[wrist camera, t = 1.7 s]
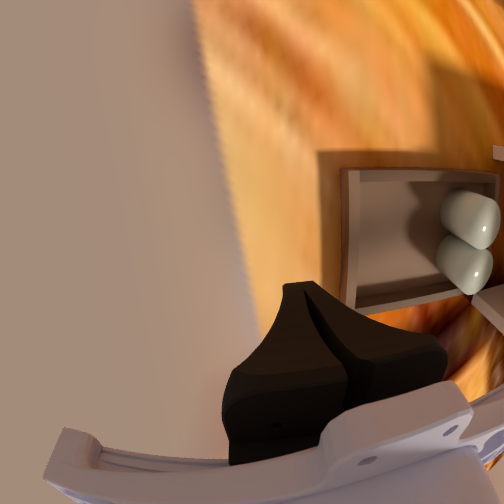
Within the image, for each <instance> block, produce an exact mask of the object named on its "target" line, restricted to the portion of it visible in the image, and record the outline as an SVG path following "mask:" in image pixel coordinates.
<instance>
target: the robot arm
mask: <svg viewBox="0 0 504 504" xmlns="http://www.w3.org/2000/svg"><path fill="white" fill-rule="evenodd" d="M282 287H283V298H282V302H281V305H280V309H279V311H278V314H277V316H276V319H275V321H274V323H273V325H272V327H271V329H270V330H269V332H268V334H267V335H266V337H265V338H264V340H263V341H262V342H261V344H260V345H259V346H258V347H257V348H256V349H255V350H254V352H253V353H252V354H251V355H250V356H249V357H248V358H247V359H246V360H245V361H243V362H242V363H241V364H240V365H238V366H237V367H236V368H234V369H233V371H232V372H231V375H230V377H229V380H228V383H227V385H226V389H225V392H224V396H223V402H222V422H223V425H224V428H225V431H226V433H227V437H228V440H229V459H195V458H179V457H167V456H158V455H149V454H141V453H135V452H128V451H123V450H118V449H113V448H108V447H103V446H102V445H101V444H100V442H99V441H98V440H97V439H96V438H95V437H94V436H92V435H90V434H88V433H86V432H82V431H78V430H74V429H70V428H65V427H64V428H63V430H62V432H61V434H60V436H59V439H58V441H57V443H56V445H55V448H54V450H53V452H52V455H51V457H50V459H49V462H48V465H47V467H46V469H45V472H44V475H43V479H44V480H45V481H46V482H48V483H49V484H50V485H52V486H53V487H55V488H56V489H57V490H59V491H60V492H61V493H63V494H64V495H66V496H67V497H69V498H70V499H72V500H73V501H75V502H76V503H78V504H501V502H500V500H499V498H498V495H497V493H496V491H495V488H494V486H493V484H492V482H491V480H490V477H489V475H488V473H487V471H486V469H485V467H484V465H485V464H487V463H488V462H490V461H491V460H492V459H494V458H495V457H496V456H498V455H499V454H500V453H502V452H503V451H504V384H503V385H501V386H499V387H498V388H496V389H494V390H492V391H491V392H489V393H487V394H485V395H483V396H481V397H479V398H478V399H476V400H474V401H472V402H470V403H468V401H467V400H466V398H465V396H464V395H463V393H462V392H461V390H460V389H459V387H458V386H457V385H456V384H455V383H454V382H453V381H444V382H441V380H442V377H443V375H444V373H445V371H446V368H447V364H448V355H447V352H446V351H445V349H444V348H443V347H442V345H441V344H440V343H439V342H438V340H437V339H436V338H435V337H434V336H433V335H428V334H421V333H415V332H410V331H405V330H402V329H398V328H394V327H391V326H388V325H385V324H382V323H380V322H377V321H375V320H372V319H370V318H368V317H366V316H364V315H362V314H360V313H358V312H356V311H354V310H353V309H351V308H349V307H348V306H346V305H345V304H343V303H342V302H340V301H339V300H337V299H336V298H334V297H333V296H332V295H330V294H329V293H328V292H326V291H325V290H324V289H323V288H321V287H320V286H319V285H318V284H316V283H315V282H314V281H305V282H296V283H286V284H284V285H283V286H282Z"/></svg>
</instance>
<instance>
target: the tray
mask: <svg viewBox="0 0 504 504" xmlns="http://www.w3.org/2000/svg"><path fill="white" fill-rule="evenodd" d="M500 181H501V175H499V174H495V173H491V172H487V171H475V170H462V169H445V168H418V167H355V168H340V183H341V271H340V294H339V301H340V302H342V303H343V304H345V305H346V306H348V307H349V308H351V309H353V310H354V311H356V312H358V313H360V314H362V315H369V314H375V313H380V312H386V311H391V310H396V309H401V308H406V307H411V306H415V305H420V304H424V303H429V302H433V301H437V300H441V299H446V298H450V297H454V296H458V295H461V294H465V293H464V292H463V291H461V290H460V289H459V288H458V287H457V286H456V285H455V284H454V283H452V282H451V281H450V280H449V279H448V278H447V277H446V276H444V275H443V274H442V273H441V272H440V271H439V270H438V269H437V267H436V261H435V258H436V252H437V249H438V247H439V245H440V243H441V242H442V240H443V239H444V238H445V237H446V236H447V235H449V234H451V233H450V232H449V231H447V230H446V229H445V228H444V227H443V225H442V222H441V217H440V210H441V205H442V202H443V199H444V197H445V196H446V194H447V193H448V192H449V191H450V190H451V189H453V188H456V187H459V188H463V189H466V190H469V191H471V192H474V193H477V194H480V195H482V196H485V197H488V198H490V199H493V200H494V201H495V202H496V203H497V204H498V206H499V195H500ZM492 247H493V242H492V244H491V245H490V246H489V247H487V248H485V249H487V250H488V251H489V252H490V253H491V252H492ZM482 289H483V288H482Z"/></svg>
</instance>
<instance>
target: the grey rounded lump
mask: <svg viewBox="0 0 504 504" xmlns="http://www.w3.org/2000/svg"><path fill="white" fill-rule="evenodd" d="M440 217H441V222H442V225H443V227H444V228H445V229H446V230H447V231H449V232H450V233H452V234H454V235H455V236H457V237H459V238H460V239H462V240H464V241H465V242H467V243H468V244H470V245H472V246H473V247H475V248H476V249H479V250H482V249H485V248H487V247H489V246H490V245H491V244H492V242H493V241H494V240H495V238H496V236H497V234H498V231H499V228H500V222H501V214H500V209H499V206H498V204H497V203H496V202H495V201H494V200H493V199H490V198H488V197H485V196H482V195H480V194H477V193H474V192H471V191H469V190H466V189H463V188H459V187H456V188H453V189H451V190H450V191H449V192H448V193H447V194H446V196H445V197H444V199H443V202H442V205H441V210H440Z"/></svg>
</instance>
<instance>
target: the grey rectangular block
mask: <svg viewBox="0 0 504 504" xmlns="http://www.w3.org/2000/svg"><path fill="white" fill-rule="evenodd" d="M493 159H496V160H500V161H504V147H503V146H497V145H493ZM471 304H472V305H474V306H475V307H476V308H477V309H478V310H479V311H480V312H481V313H482V314H483V315H484V316H485V317H486V318H487V319H488V320H489V321H490V322H491V323H492V324H493V325H494V326H495V327H496V328H497V329H498V330H499V331H500V332H501V333H502V334H503V335H504V284H502V285H498V286H495V287H492V288H488V289H485V290H481V291H478V292H477V293H475V294H473V298H472V302H471Z"/></svg>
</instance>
